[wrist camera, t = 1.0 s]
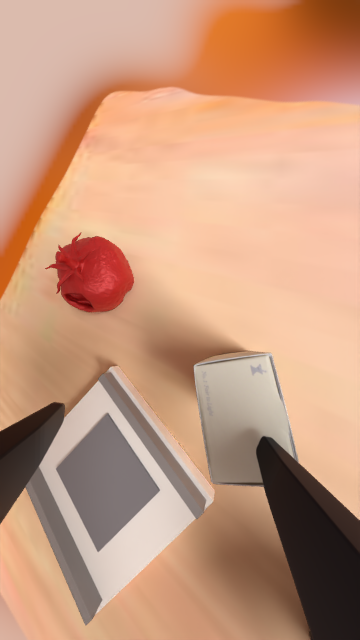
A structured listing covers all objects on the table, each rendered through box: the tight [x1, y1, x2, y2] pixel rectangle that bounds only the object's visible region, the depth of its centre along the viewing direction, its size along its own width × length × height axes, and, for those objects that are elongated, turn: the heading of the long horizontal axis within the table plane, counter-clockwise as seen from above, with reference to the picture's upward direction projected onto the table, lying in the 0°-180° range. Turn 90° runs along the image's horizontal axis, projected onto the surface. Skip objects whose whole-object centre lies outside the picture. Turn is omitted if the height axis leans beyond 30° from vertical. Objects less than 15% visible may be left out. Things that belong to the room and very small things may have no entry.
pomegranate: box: [45, 233, 134, 312], centre depth 24 cm, size 10×10×9 cm
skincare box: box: [194, 351, 299, 487], centre depth 15 cm, size 6×4×12 cm
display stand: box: [25, 366, 215, 625], centre depth 22 cm, size 18×18×3 cm
